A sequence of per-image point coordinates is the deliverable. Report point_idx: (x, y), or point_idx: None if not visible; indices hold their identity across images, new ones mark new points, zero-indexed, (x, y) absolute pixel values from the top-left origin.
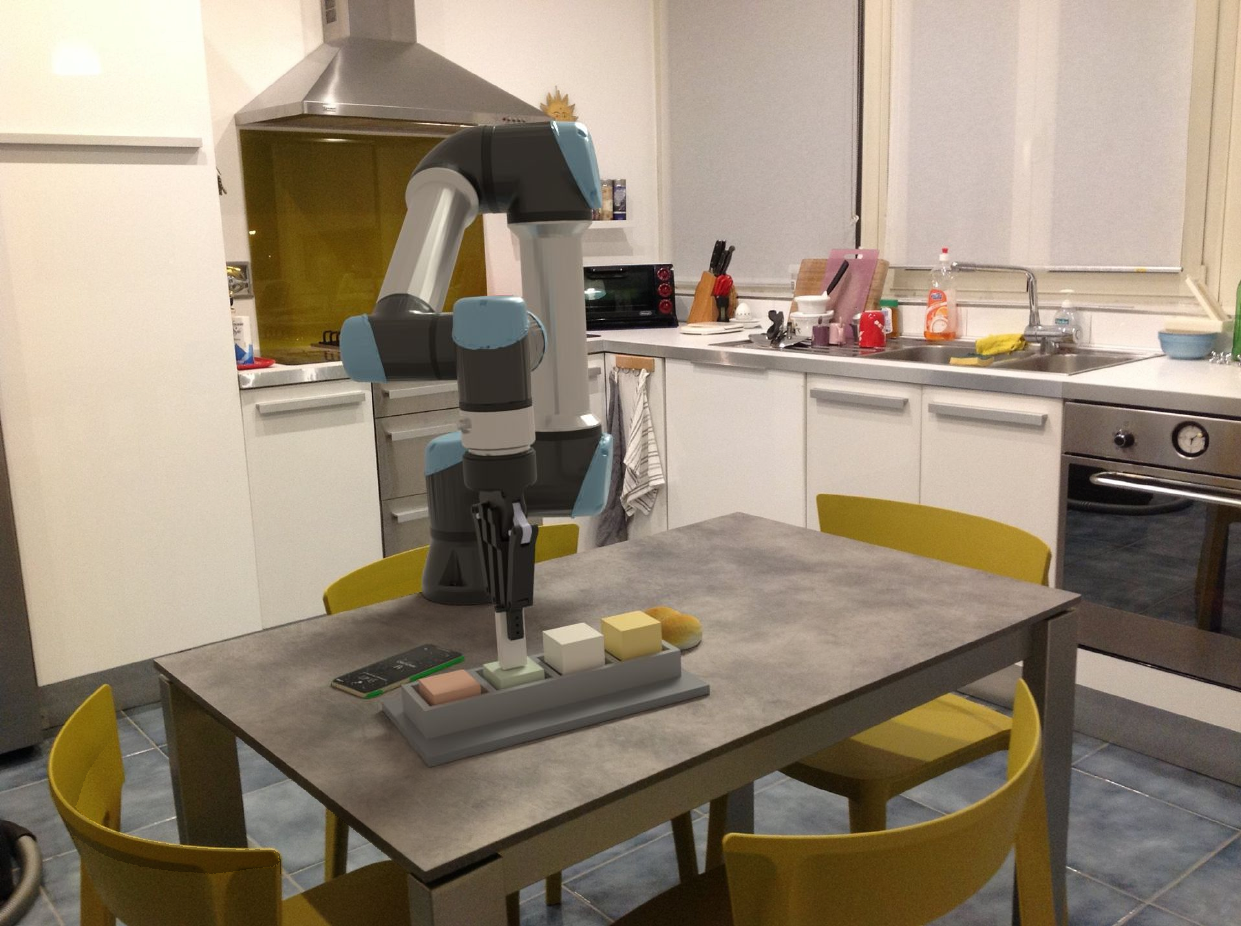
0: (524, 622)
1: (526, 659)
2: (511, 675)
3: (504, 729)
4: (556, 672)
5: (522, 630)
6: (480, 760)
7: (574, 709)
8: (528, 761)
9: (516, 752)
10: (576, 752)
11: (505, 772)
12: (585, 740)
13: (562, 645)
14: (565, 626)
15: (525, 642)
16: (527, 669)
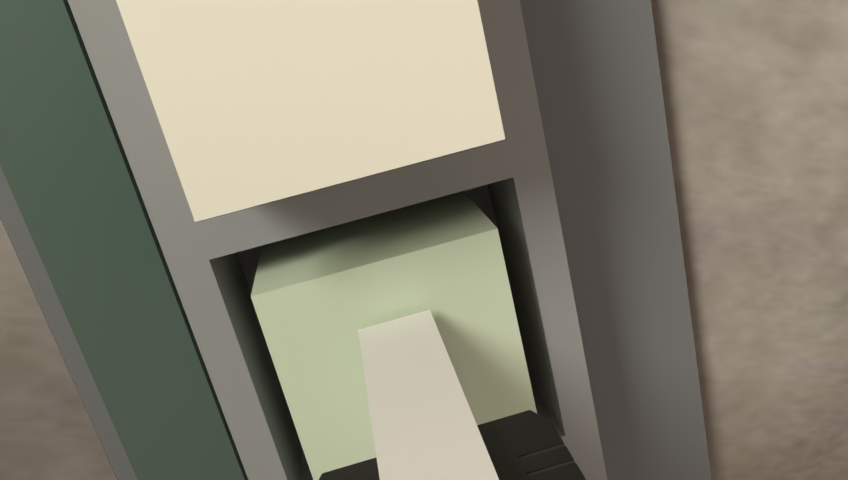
0: (480, 440)
1: (432, 323)
2: (513, 387)
3: (634, 364)
4: None
5: (562, 446)
6: (731, 428)
7: (568, 81)
8: (805, 293)
9: (729, 322)
10: (821, 131)
11: (837, 365)
12: (750, 80)
13: (501, 133)
14: (132, 39)
15: (452, 368)
16: (469, 309)
